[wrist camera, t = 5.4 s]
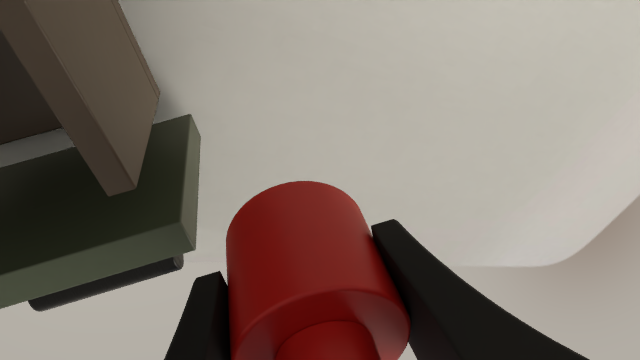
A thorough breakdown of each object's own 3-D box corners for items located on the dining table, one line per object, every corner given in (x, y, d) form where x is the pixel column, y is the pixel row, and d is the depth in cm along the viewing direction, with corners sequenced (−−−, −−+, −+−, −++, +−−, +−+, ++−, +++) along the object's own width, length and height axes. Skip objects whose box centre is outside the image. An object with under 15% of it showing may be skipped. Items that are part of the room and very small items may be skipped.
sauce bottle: (337, 289, 14) (395, 476, 9) (213, 281, 13) (214, 494, 8) (383, 190, 12) (484, 368, 8) (243, 168, 11) (267, 367, 6)
